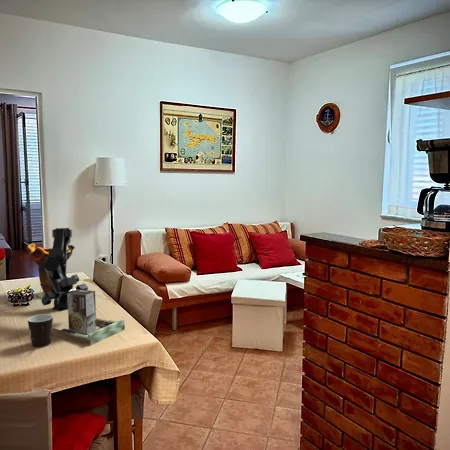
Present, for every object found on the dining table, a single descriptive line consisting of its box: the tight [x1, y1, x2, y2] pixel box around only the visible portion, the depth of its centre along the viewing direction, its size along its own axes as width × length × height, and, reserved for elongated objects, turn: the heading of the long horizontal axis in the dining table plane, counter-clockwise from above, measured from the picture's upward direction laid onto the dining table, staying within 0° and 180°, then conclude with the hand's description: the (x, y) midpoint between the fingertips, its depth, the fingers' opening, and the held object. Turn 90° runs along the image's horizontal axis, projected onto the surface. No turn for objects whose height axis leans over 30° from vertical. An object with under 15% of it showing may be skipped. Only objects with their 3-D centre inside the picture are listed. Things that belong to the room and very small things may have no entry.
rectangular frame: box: [51, 317, 126, 346], centre depth 167 cm, size 18×24×4 cm
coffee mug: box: [26, 313, 54, 348], centre depth 153 cm, size 12×9×10 cm
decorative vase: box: [27, 243, 76, 300], centre depth 217 cm, size 21×23×28 cm
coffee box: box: [67, 289, 97, 335], centre depth 168 cm, size 9×6×16 cm
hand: (74, 310), depth 170 cm, fingers closed
